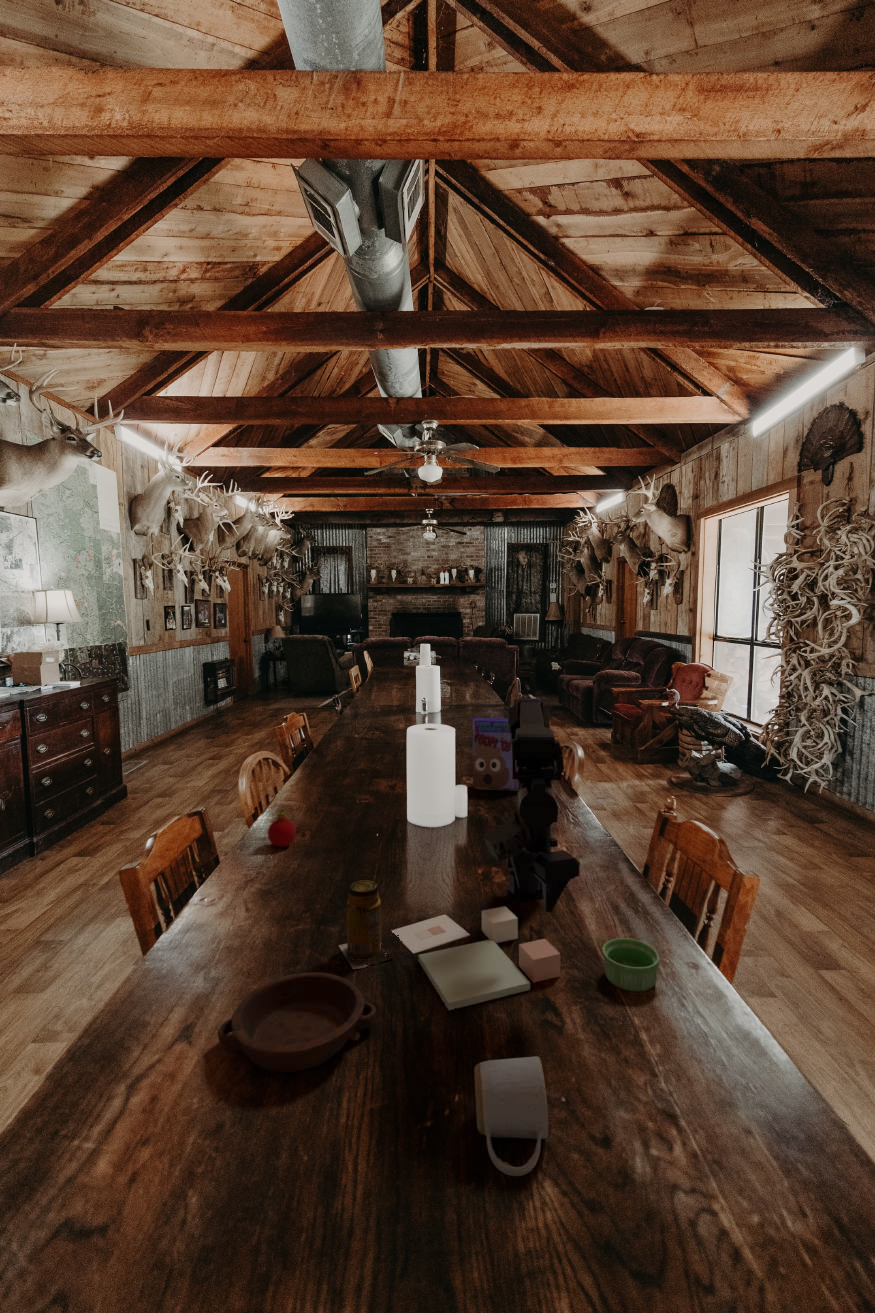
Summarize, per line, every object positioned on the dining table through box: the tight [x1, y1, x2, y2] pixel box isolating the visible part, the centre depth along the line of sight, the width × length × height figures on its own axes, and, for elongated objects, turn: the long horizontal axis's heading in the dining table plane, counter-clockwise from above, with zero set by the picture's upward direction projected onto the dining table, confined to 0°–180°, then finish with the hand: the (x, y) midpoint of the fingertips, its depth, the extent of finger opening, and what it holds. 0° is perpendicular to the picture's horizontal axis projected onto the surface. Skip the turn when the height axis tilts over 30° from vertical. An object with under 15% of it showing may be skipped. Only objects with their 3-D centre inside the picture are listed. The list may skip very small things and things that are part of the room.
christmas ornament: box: [267, 807, 297, 848], centre depth 159 cm, size 7×7×10 cm
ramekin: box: [602, 937, 660, 993], centre depth 101 cm, size 9×9×4 cm
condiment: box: [338, 879, 387, 970], centre depth 108 cm, size 7×8×12 cm
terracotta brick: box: [518, 938, 561, 984], centre depth 103 cm, size 5×5×4 cm
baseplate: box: [418, 939, 531, 1011], centre depth 102 cm, size 14×14×1 cm
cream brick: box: [481, 905, 519, 944], centre depth 114 cm, size 5×5×4 cm
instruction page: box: [391, 914, 471, 955], centre depth 115 cm, size 12×9×1 cm
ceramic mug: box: [473, 1056, 549, 1177], centre depth 70 cm, size 11×8×8 cm
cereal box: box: [472, 717, 518, 789], centre depth 208 cm, size 17×5×24 cm, turn 81°
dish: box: [217, 971, 377, 1073], centre depth 87 cm, size 18×22×5 cm
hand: (534, 899), depth 102 cm, fingers open, 9 cm apart
